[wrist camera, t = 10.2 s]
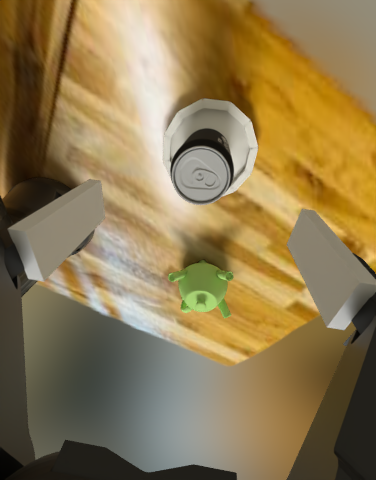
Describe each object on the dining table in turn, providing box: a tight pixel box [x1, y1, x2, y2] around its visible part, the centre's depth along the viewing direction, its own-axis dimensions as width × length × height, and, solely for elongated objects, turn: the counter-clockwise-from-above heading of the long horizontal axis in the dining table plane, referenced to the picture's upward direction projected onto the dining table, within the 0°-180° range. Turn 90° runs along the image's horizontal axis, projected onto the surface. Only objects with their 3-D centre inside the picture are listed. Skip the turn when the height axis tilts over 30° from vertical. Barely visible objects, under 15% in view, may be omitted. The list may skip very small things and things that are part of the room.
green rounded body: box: [168, 260, 233, 318], centre depth 41 cm, size 11×12×8 cm
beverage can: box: [170, 128, 234, 205], centre depth 26 cm, size 7×7×12 cm
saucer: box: [163, 98, 258, 196], centre depth 31 cm, size 13×13×2 cm
